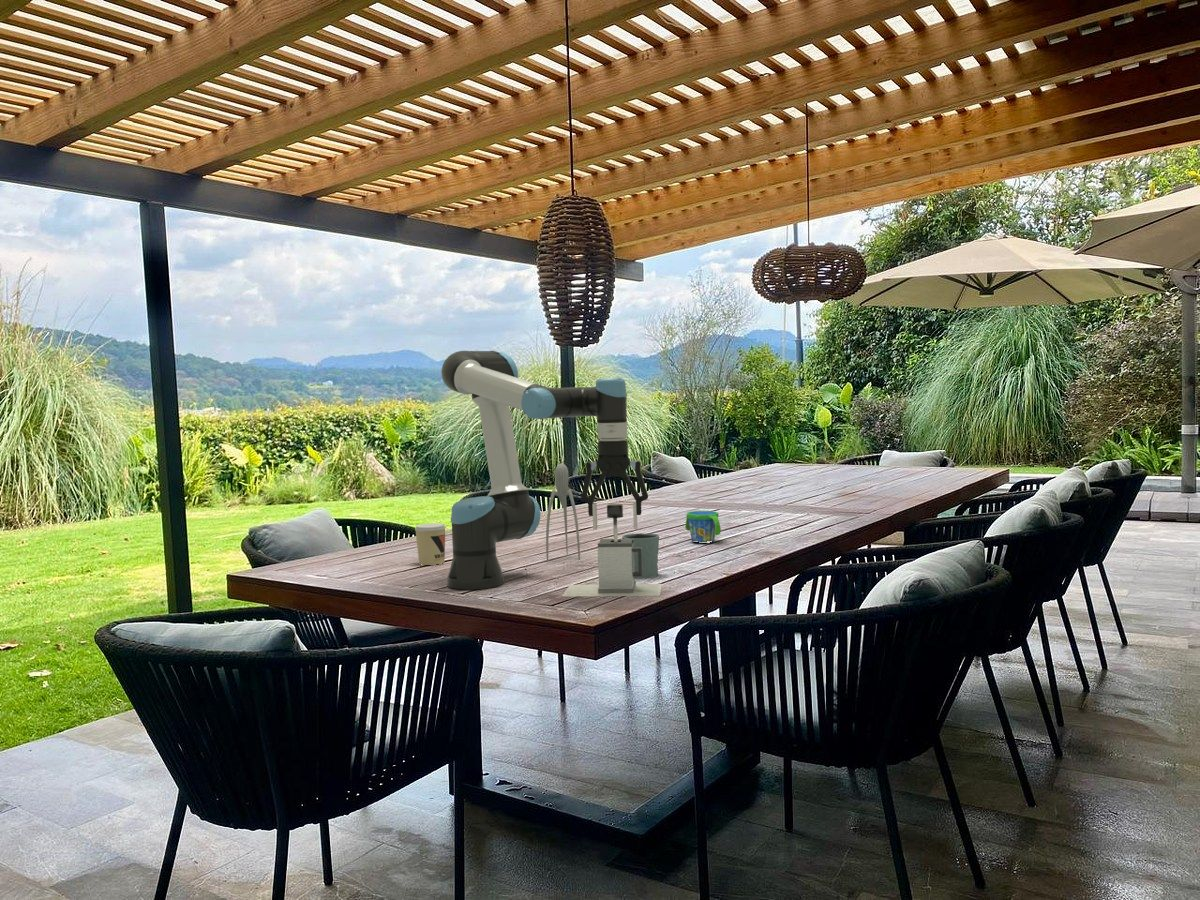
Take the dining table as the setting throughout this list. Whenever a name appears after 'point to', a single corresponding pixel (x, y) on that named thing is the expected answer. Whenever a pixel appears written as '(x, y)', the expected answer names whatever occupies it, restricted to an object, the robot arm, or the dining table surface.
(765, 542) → the dining table surface
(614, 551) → the block
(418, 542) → the coffee cup
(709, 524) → the snack cup
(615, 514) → the plunger
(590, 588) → the plate
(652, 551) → the green mug
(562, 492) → the juicer
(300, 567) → the dining table surface
